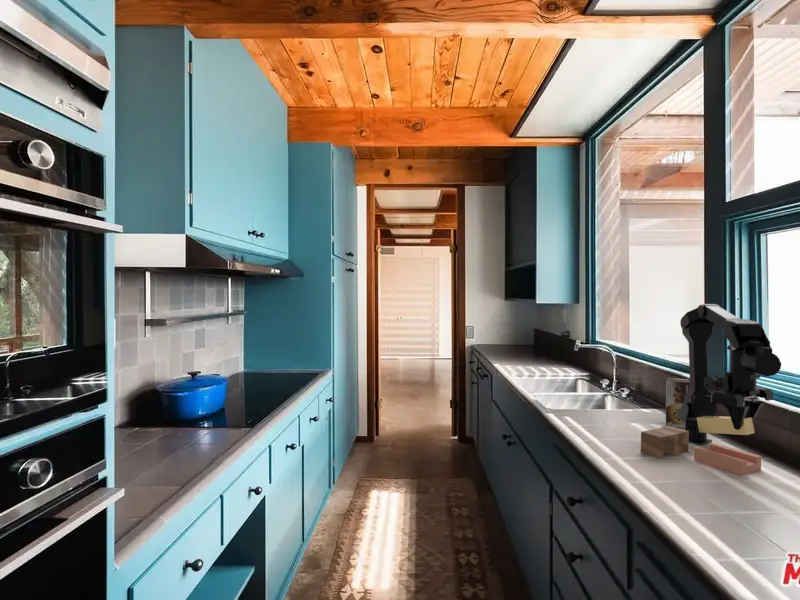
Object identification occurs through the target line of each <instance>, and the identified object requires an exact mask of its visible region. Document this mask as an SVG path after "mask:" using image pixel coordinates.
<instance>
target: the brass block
mask: <svg viewBox="0 0 800 600" xmlns="http://www.w3.org/2000/svg"><path fill="white" fill-rule="evenodd" d="M697 423H698V428H699V432H703V433H707V434H721V435H724V434H725V435H740V436H749V435H752V434H755V428H754V423H753V421H752V417H745V418H744V421H743V423H742V426H741V428H740V430H736V429H734V426H733V423H732V420H731V417H730V416H724V415H723V416H722V415H721V416H720V415H719V416H718V415H716V416H702V417H697Z"/></svg>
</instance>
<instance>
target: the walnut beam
mask: <svg viewBox="0 0 800 600" xmlns="http://www.w3.org/2000/svg"><path fill="white" fill-rule="evenodd" d="M689 442H690V441H689V431H686V430H685V429H684V428H678V427H671V426H663V427H662V426H661V427H657V428H653V429H647V430H643V431H641V432H640V453H642V454H644V455H648V456H651V457H653V458H657V459H660V460H663V459H664V453H666V454H670V455H672V456H678V455H680V454H684V453H688V452H689V446H690V445H689Z"/></svg>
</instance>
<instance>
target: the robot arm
mask: <svg viewBox="0 0 800 600" xmlns="http://www.w3.org/2000/svg"><path fill="white" fill-rule="evenodd" d="M679 323H680V327H681V333H682V335H683V336H684V337H685V340H687V342H688V358H689V359H688V361H689V362H688V363H689V364H688V365H689V379H690V389H689V391H688V392H687V394H686V395H685V397H684V404H683V405H682V407H681V408H680V410H679V411H678V414H679V419H681V420H683V421H684V422H685V428H684V430H686V431H689V442H690V443H694V444H698V445H704V444H710V443H713V440H712V439H709V438H708V433H703V432H699V428H698V423H697V417H702V416H718V411H719V410H718V406H717V404H719V405H722V406H723V407H724V408H726V409H727V412H728V414H729V417H731V420H732V423H733V426H734V429H736V430H740V428H741V426H742V423H743V421H744V418H745V417H752V422H753V421H754V419H755V418H756V416H758V414H759V412H760V410H761V409H762V407H763V406H764V405H765V404H766V402H765V401H772V400H774V392H773V391H772V390H771V389H770V388H767V387H762V386H757V380H758V379H761V376H765V377H772V376H775V375H776V374H778V373H779V372H780V370H781V367H782V362H781V360H780V358H779V356H778V355H776V354H774V353H773V348H772V346H771V341H770V340H769V338H768V336H767V334H766V331H765V330H764V328H763V326H762V324H761V323H760V322H758V321H756V320H751V319H745V318H739V317H738V316H736V315H734V314H733V313H731V312H729V311H727V310H726V309H724V308H722V307H721V306H720V305H719V304H717V303H716V304H715V303H702V304H700V305H698V306H697V307H696V308H694V309H691V310H690V311H687V312H686V313H685V314H684V315H683V316H682V317H681V318H680V322H679ZM715 327H718V328H719V329H721V330H722V331H723V336H724V337H725V339H727V341H728V342H729V343H730V344H728V345H727V347H726V349H727V350H729V351H730V355H729V357H730V358H729V371H726V372H725V373H724V377H719V378H716V376H715V375H709V368H708V341H709V340H710V339H711V336H712V335H713V334H714V333H713V332H714V328H715ZM712 392H713V393H712ZM760 398H761V399H764V400H765V401H761V400H760Z"/></svg>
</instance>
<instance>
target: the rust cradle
mask: <svg viewBox="0 0 800 600" xmlns="http://www.w3.org/2000/svg"><path fill="white" fill-rule="evenodd" d="M693 449H694V451H693V461H695V462H697V461H698V463H701V464H704V465H707V466H710V467H713V468H717V469H719V470H720V469H721V470H723V471H726V472H729V473H733V474H736V475H739V476H745V475H748V473H749V474H752V473H754V471H755V472H758V471H761V470H760V469H762V455H758V454H754V453H752V452H747V451H744V450H741V449H737V448H733V447H729V446H726V445H723V444H718V443H715V442H714V443H713V442H710V443H708V449H707V448H704V447H701V446H697V447H693ZM757 470H758V471H757ZM751 472H752V473H751Z"/></svg>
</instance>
